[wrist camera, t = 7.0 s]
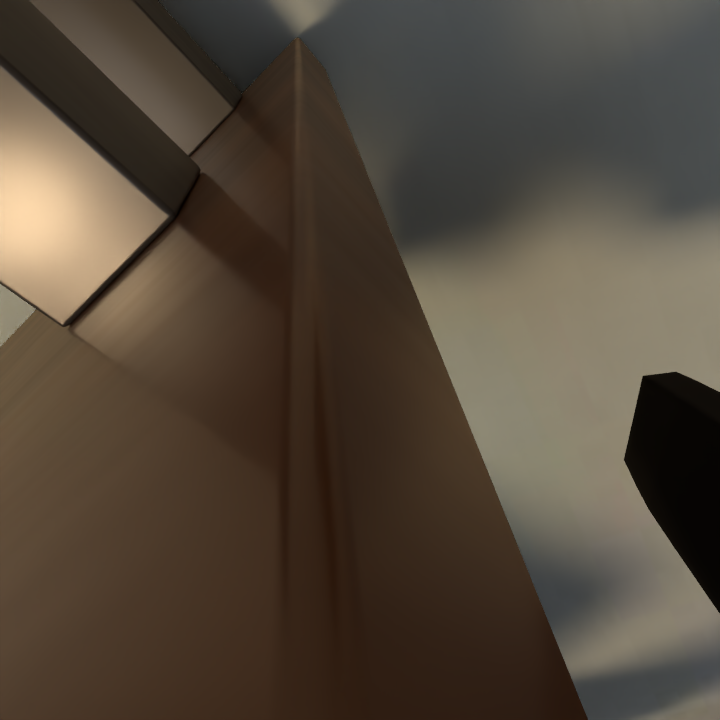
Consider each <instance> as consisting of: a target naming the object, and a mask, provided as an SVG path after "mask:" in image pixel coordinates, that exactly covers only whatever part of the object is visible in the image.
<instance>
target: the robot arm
mask: <svg viewBox="0 0 720 720" xmlns="http://www.w3.org/2000/svg"><path fill="white" fill-rule="evenodd" d="M624 461H625V463H626V465H627V467H628V469H629V471H630V473H631V476H632V478H633V480H634V482H635V484H636V486H637V488H638V490H639V492H640V494H641V496H642V497H643V499H644V501H645V503H646V505H647V507H648V509H649V510H650V512H651V513H652V515H653V516H654V518H655V519H656V521H657V522H658V524H659V525H660V527H661V528H662V530H663V531H664V533H665V534H666V536H667V537H668V539H669V540H670V542H671V543H672V545H673V546H674V548H675V549H676V551H677V552H678V554H679V555H680V556H681V558H682V559H683V561H684V562H685V564H686V565H687V567H688V568H689V569H690V571H691V572H692V574H693V575H694V577H695V578H696V580H697V581H698V583H699V584H700V585H701V587H702V588H703V590H704V591H705V593H706V594H707V596H708V597H709V599H710V600H711V601H712V603H713V604H714V606H715V607H716V609H717V610H718V612H719V613H720V392H718V391H716V390H714V389H712V388H710V387H708V386H706V385H704V384H702V383H700V382H698V381H696V380H693V379H691V378H689V377H687V376H684V375H682V374H680V373H677V372H670V373H663V374H655V375H647V376H643V378H642V382H641V387H640V391H639V395H638V400H637V404H636V409H635V413H634V418H633V422H632V426H631V431H630V435H629V440H628V444H627V449H626V453H625V457H624Z"/></svg>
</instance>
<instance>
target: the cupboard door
mask: <svg viewBox="0 0 720 720" xmlns="http://www.w3.org/2000/svg"><path fill="white" fill-rule="evenodd" d="M0 284H2V285H3V286H4V287H6V288H7V289H9V290H10V291H11V292H13V293H14V294H16V295H17V296H19V297H20V298H21V299H23V300H24V301H26V302H27V303H28V304H30V305H31V306H33V307H34V308H36V310H35V311H34V312H33V314H32V315H31V316H30V317H29V318H28V319H27V320H26V321H25V322H24V323H23V324H22V325H21V326H20V327H19V328H18V329H17V330H16V331H15V332H14V333H13V334H12V336H11V337H10V338H9V339H8V340H7V341H6V342H5V343H4V344H3V345H2V346H1V347H0V720H588V719H587V716H586V714H585V711H584V709H583V706H582V704H581V701H580V699H579V696H578V694H577V692H576V689H575V687H574V684H573V682H572V679H571V677H570V674H569V672H568V669H567V667H566V664H565V662H564V659H563V657H562V654H561V652H560V649H559V647H558V644H557V642H556V640H555V637H554V635H553V632H552V630H551V627H550V625H549V622H548V620H547V617H546V615H545V612H544V610H543V607H542V605H541V602H540V600H539V597H538V595H537V592H536V590H535V587H534V585H533V583H532V580H531V578H530V575H529V573H528V570H527V568H526V565H525V563H524V560H523V558H522V555H521V553H520V550H519V548H518V545H517V543H516V540H515V538H514V535H513V533H512V531H511V528H510V526H509V523H508V521H507V518H506V516H505V513H504V511H503V508H502V506H501V503H500V501H499V498H498V496H497V493H496V491H495V488H494V486H493V483H492V481H491V479H490V476H489V474H488V471H487V469H486V466H485V464H484V461H483V459H482V456H481V454H480V451H479V449H478V446H477V444H476V441H475V439H474V436H473V434H472V431H471V429H470V427H469V424H468V422H467V419H466V417H465V414H464V412H463V409H462V407H461V404H460V402H459V399H458V397H457V394H456V392H455V389H454V387H453V384H452V382H451V379H450V377H449V374H448V372H447V370H446V367H445V365H444V362H443V360H442V357H441V355H440V352H439V350H438V347H437V345H436V342H435V340H434V337H433V335H432V332H431V330H430V327H429V325H428V322H427V320H426V318H425V315H424V313H423V310H422V308H421V305H420V303H419V300H418V298H417V295H416V293H415V290H414V288H413V285H412V283H411V280H410V278H409V275H408V273H407V270H406V268H405V266H404V263H403V261H402V258H401V256H400V253H399V251H398V248H397V246H396V243H395V241H394V238H393V236H392V233H391V231H390V228H389V226H388V223H387V221H386V218H385V216H384V214H383V211H382V209H381V206H380V204H379V201H378V199H377V196H376V194H375V191H374V189H373V186H372V184H371V181H370V179H369V176H368V174H367V171H366V169H365V166H364V164H363V162H362V159H361V157H360V154H359V152H358V149H357V147H356V144H355V142H354V139H353V137H352V134H351V132H350V129H349V127H348V124H347V122H346V119H345V117H344V114H343V112H342V109H341V107H340V105H339V102H338V100H337V97H336V95H335V92H334V90H333V87H332V85H331V82H330V80H329V77H328V75H327V72H326V70H325V69H324V67H323V66H322V65H321V64H320V62H319V61H318V60H317V59H316V58H315V56H314V55H313V54H312V53H311V51H310V50H309V49H308V48H307V46H306V45H305V44H304V43H303V41H302V40H301V39H299V38H296V39H294V40H293V41H292V42H291V43H290V44H289V45H288V46H287V47H286V48H285V49H284V50H283V52H282V53H281V54H280V55H279V56H278V57H277V58H276V59H275V60H274V61H273V62H272V63H271V64H270V65H269V66H268V67H267V68H266V69H265V70H264V71H263V72H262V74H261V75H260V76H259V77H258V78H257V79H256V80H255V81H254V82H253V83H252V84H251V85H250V86H249V87H248V88H247V89H246V90H245V91H244V92H243V93H241V92H240V91H239V90H238V89H237V88H236V86H235V85H234V84H233V83H232V82H231V81H230V80H229V79H228V78H227V77H226V75H225V74H224V73H223V72H222V71H221V70H220V69H219V68H218V67H217V66H216V64H215V63H214V62H213V61H212V60H211V59H210V58H209V57H208V56H207V55H206V53H205V52H204V51H203V50H202V49H201V48H200V47H199V46H198V45H197V44H196V42H195V41H194V40H193V39H192V38H191V37H190V36H189V35H188V34H187V33H186V31H185V30H184V29H183V28H182V27H181V26H180V25H179V24H178V23H177V22H176V20H175V19H174V18H173V17H172V16H171V15H170V14H169V13H168V12H167V11H166V9H165V8H164V7H163V6H162V5H161V4H160V3H159V2H158V1H157V0H0Z"/></svg>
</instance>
